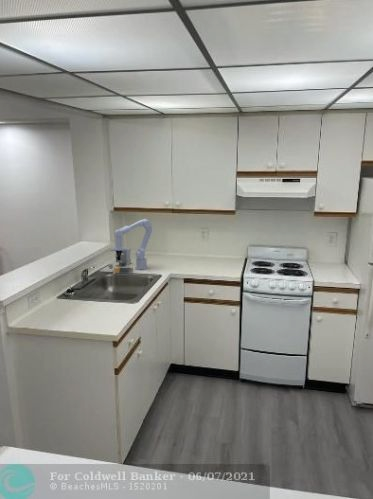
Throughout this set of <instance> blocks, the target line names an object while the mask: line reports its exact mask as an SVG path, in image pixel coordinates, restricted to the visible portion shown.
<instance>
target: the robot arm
mask: <svg viewBox="0 0 373 499" xmlns="http://www.w3.org/2000/svg"><path fill="white" fill-rule="evenodd" d="M137 227H144V229H145V232H144V235H143V238H142V239H141V243H140V246H139V247H138V249H137V250H136V252H135V256H136V257H135V265H136V266H135V269H136V270H147V269H148V264H147V263H148V262H147V261H148V260H147V257H146V258H145V256H146V248H147V245H148V243H149V240H150V238H151V235H152V232H153V227H152V222H151V221H150V220H148V219H147V218H143V219H140V220H138V221H136V222H134V223H132V224H130V225H124V226H123V227H120V228H118V229H115V230H114V235H115V238H114V239H115V240H114V242H115V248H110V249H109V250H110V251H109V252H115V255H116V254H117V256H118V259H120V256H121V253H122V251H128V248H129V247H125V248H124V247H123V235H125V234H126V235H127V233H128V234H129V233H130V232H131V230H133V229H135V228H137Z"/></svg>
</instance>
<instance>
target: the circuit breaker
mask: <svg viewBox="0 0 373 499" xmlns="http://www.w3.org/2000/svg"><path fill="white" fill-rule="evenodd" d="M123 248H126V246H125V247H123ZM127 248H128V251H122V253H121V256H120V259H118V256H117V254H116V253H115V262H116V263H118V265H120V266H123V267H124V266H125V267H127V266H129V265H132V259H131V247H127Z"/></svg>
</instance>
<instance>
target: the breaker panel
mask: <svg viewBox="0 0 373 499" xmlns="http://www.w3.org/2000/svg"><path fill="white" fill-rule="evenodd" d="M115 266H116V267H119V273H115V267H114V269H113V272H112V276H113V277H114V276H118V277H119V276H133V273H134V272H133V271H134V267H121V265H119V264H116V265H115Z"/></svg>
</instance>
